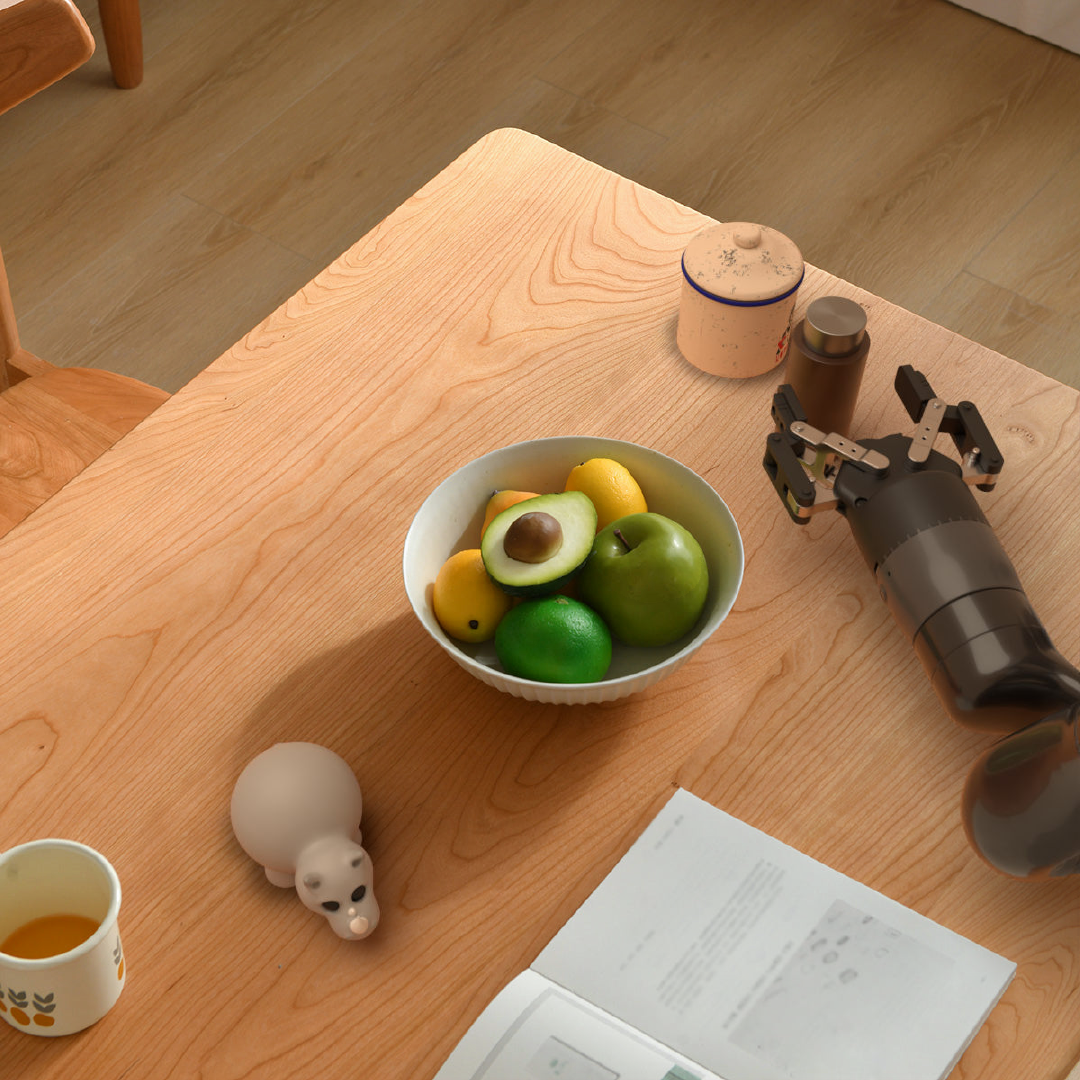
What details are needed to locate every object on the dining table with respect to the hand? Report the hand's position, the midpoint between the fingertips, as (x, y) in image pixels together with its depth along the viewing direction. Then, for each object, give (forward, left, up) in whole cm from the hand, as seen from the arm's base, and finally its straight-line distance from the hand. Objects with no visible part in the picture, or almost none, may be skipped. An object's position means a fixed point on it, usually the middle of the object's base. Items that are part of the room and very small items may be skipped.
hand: (841, 383), depth 91 cm
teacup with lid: (+2, -15, -9) cm, 18 cm away
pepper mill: (0, -2, -9) cm, 9 cm away
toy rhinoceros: (+39, +24, -9) cm, 47 cm away
